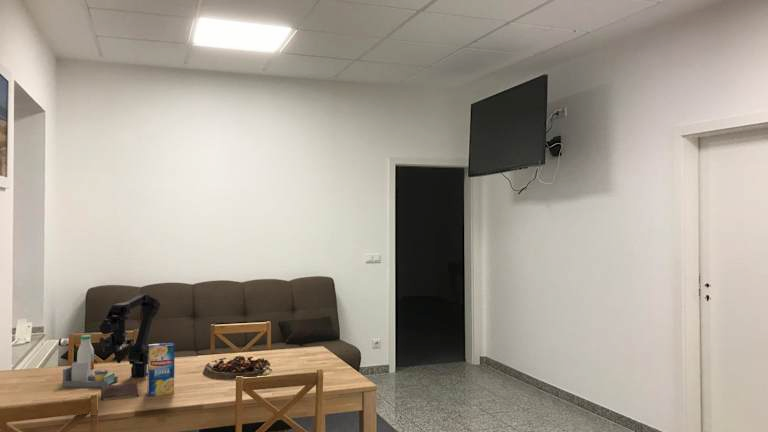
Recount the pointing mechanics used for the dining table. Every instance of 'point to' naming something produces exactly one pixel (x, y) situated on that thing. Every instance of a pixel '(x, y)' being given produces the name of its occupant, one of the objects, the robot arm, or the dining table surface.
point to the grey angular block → (79, 372)
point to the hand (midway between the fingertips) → (118, 363)
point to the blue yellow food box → (160, 369)
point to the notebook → (119, 391)
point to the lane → (89, 383)
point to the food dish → (235, 368)
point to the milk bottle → (86, 353)
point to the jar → (100, 375)
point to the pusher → (109, 378)
